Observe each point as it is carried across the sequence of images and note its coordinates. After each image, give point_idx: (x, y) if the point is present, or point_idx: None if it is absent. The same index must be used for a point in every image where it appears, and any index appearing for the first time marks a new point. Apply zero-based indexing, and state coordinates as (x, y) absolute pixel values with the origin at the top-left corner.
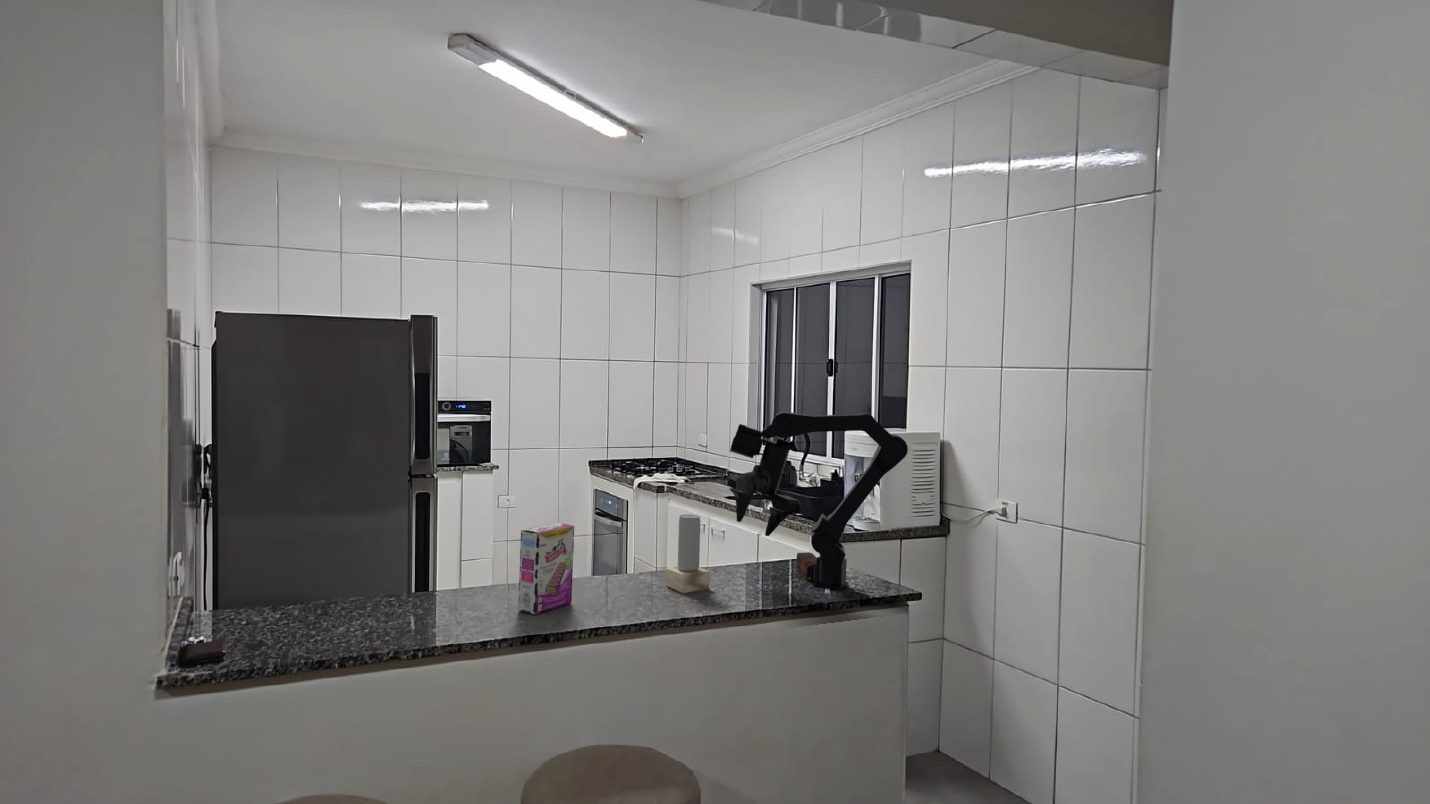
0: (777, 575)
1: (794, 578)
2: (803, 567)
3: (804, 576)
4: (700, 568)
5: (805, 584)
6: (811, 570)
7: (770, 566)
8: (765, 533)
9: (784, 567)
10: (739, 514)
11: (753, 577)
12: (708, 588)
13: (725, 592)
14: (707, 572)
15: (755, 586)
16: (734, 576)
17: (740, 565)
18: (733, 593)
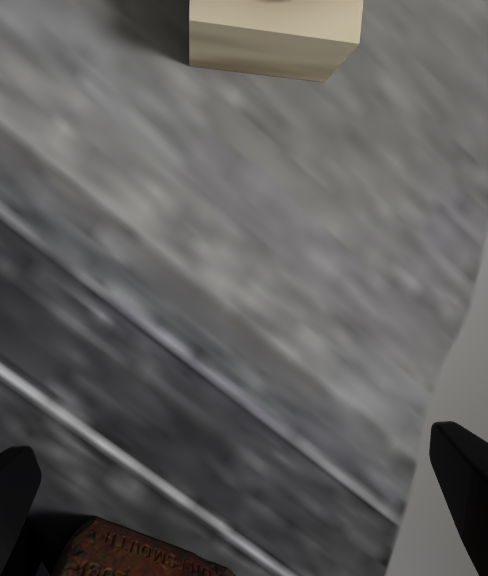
0: (218, 464)
1: (144, 493)
2: (130, 567)
3: (115, 530)
4: (267, 22)
5: None
6: (60, 565)
7: (340, 522)
8: (8, 454)
9: (300, 557)
10: (485, 488)
11: (245, 363)
12: (190, 62)
13: (102, 90)
14: (190, 8)
15: (120, 276)
16: (299, 307)
17: (415, 434)
18: (69, 109)
